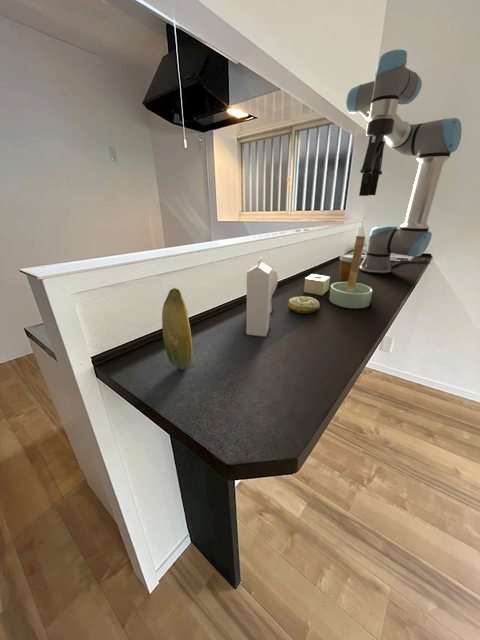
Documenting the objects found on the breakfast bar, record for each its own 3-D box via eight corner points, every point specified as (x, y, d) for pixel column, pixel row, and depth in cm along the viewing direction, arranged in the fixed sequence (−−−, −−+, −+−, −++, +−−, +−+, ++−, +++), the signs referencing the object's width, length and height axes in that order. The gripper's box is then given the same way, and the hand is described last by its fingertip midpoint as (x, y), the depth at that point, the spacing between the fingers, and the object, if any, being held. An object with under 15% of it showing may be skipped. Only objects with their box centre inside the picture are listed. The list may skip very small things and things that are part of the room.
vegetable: (199, 371, 62) (192, 291, 53) (173, 381, 59) (162, 297, 50) (189, 359, 66) (181, 283, 58) (164, 367, 63) (152, 288, 55)
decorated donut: (324, 312, 93) (326, 302, 92) (299, 317, 89) (300, 306, 88) (306, 302, 102) (307, 292, 100) (283, 306, 98) (283, 296, 96)
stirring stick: (346, 299, 103) (357, 235, 92) (352, 300, 101) (365, 236, 91) (344, 301, 101) (356, 236, 90) (351, 302, 100) (363, 236, 89)
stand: (310, 287, 119) (312, 274, 116) (328, 290, 114) (330, 276, 112) (303, 291, 113) (305, 278, 110) (322, 295, 108) (324, 281, 106)
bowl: (334, 293, 111) (337, 279, 108) (372, 300, 103) (375, 285, 101) (323, 304, 100) (326, 289, 97) (364, 313, 92) (368, 296, 90)
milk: (246, 334, 78) (246, 260, 69) (250, 325, 84) (250, 256, 74) (266, 337, 77) (269, 261, 67) (269, 327, 82) (272, 256, 73)
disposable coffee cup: (335, 282, 125) (339, 256, 120) (336, 277, 133) (340, 253, 128) (356, 284, 122) (362, 258, 116) (357, 279, 129) (362, 254, 124)
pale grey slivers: (273, 305, 99) (275, 265, 93) (278, 316, 90) (280, 273, 83) (245, 305, 99) (245, 265, 92) (246, 317, 89) (247, 274, 83)
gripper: (374, 128, 93) (363, 195, 102) (359, 113, 74) (347, 196, 84) (398, 125, 89) (384, 194, 98) (389, 108, 71) (373, 196, 80)
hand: (367, 195), depth 91 cm, fingers open, 13 cm apart
